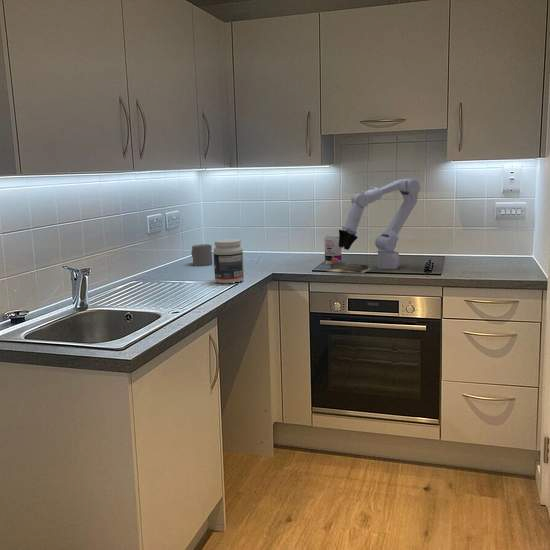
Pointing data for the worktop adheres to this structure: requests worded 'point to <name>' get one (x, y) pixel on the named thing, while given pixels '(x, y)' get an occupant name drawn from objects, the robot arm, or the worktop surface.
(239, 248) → the supplement tub
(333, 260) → the tab
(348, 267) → the bar
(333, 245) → the supplement can
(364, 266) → the tongs body
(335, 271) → the board
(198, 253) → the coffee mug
